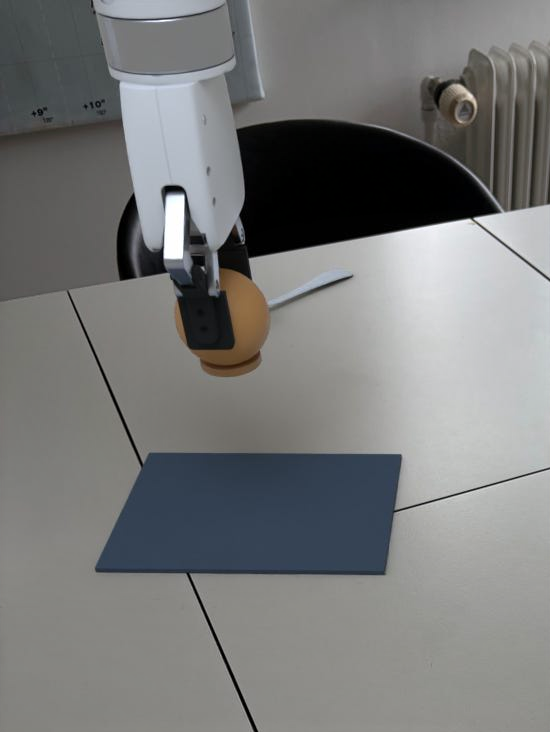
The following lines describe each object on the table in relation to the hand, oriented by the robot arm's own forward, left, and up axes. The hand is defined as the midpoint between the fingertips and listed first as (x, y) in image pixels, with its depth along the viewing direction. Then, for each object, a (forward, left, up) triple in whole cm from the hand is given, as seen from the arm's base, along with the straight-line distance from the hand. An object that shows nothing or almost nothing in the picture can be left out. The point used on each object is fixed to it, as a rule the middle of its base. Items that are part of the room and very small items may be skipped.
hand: (222, 321), depth 74 cm
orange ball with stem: (0, 0, -3) cm, 3 cm away
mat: (0, -1, -16) cm, 16 cm away
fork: (-4, +37, -16) cm, 41 cm away
